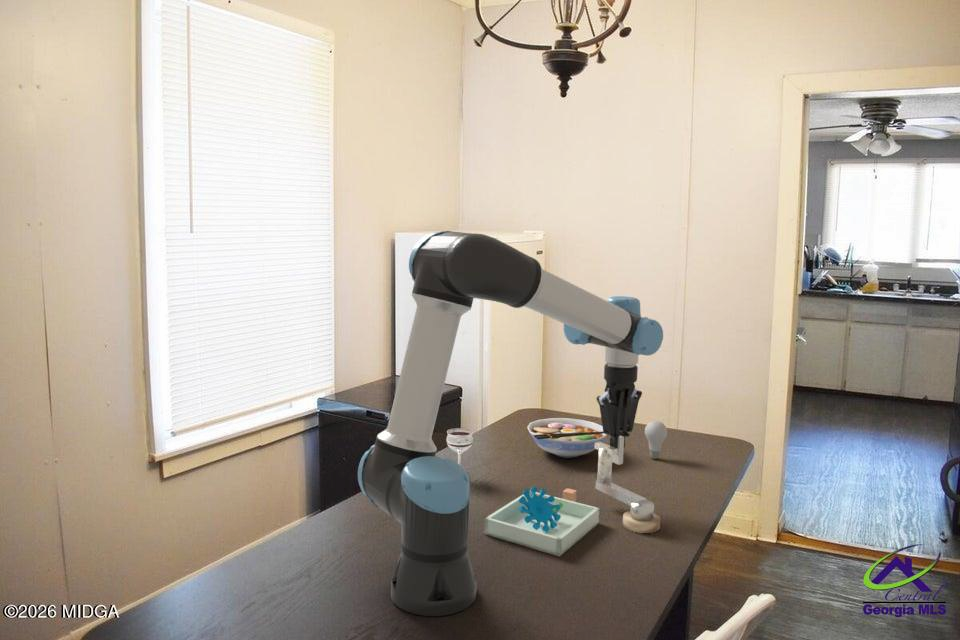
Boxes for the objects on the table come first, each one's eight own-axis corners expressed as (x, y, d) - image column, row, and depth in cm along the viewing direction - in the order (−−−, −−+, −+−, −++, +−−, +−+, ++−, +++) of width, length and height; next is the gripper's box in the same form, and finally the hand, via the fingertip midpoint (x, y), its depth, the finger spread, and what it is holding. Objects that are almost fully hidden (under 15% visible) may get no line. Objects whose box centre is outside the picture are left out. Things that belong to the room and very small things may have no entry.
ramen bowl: (588, 439, 224) (589, 413, 223) (625, 463, 202) (626, 434, 201) (511, 444, 216) (512, 417, 215) (541, 470, 195) (542, 441, 194)
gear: (528, 530, 152) (516, 485, 158) (515, 541, 156) (503, 497, 162) (572, 527, 158) (558, 484, 163) (557, 538, 162) (545, 496, 167)
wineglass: (473, 473, 191) (474, 428, 190) (470, 482, 185) (471, 436, 183) (447, 472, 192) (448, 427, 190) (443, 481, 185) (444, 435, 184)
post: (571, 510, 169) (572, 493, 169) (561, 507, 170) (562, 491, 170) (575, 506, 171) (576, 490, 171) (566, 504, 172) (567, 488, 172)
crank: (658, 518, 161) (661, 463, 159) (641, 522, 158) (645, 466, 156) (602, 491, 176) (605, 440, 174) (586, 494, 173) (589, 443, 171)
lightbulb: (668, 458, 208) (670, 420, 206) (661, 464, 203) (663, 425, 201) (647, 454, 211) (649, 416, 210) (639, 459, 206) (642, 421, 205)
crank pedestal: (652, 537, 156) (653, 528, 156) (617, 527, 160) (617, 518, 160) (664, 524, 163) (665, 515, 163) (630, 515, 167) (630, 507, 167)
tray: (559, 556, 146) (560, 539, 145) (484, 534, 155) (484, 518, 155) (598, 523, 162) (599, 508, 162) (528, 504, 172) (529, 490, 171)
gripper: (628, 358, 176) (623, 453, 179) (589, 364, 168) (585, 463, 172) (652, 363, 170) (647, 461, 173) (613, 370, 162) (608, 472, 166)
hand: (616, 462), depth 172 cm, fingers closed
